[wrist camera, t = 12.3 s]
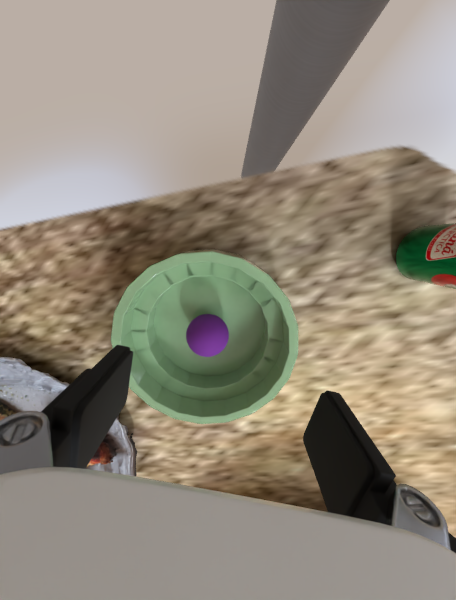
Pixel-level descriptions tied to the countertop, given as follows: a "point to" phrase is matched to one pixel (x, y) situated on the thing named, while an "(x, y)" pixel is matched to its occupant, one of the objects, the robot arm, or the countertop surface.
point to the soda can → (429, 255)
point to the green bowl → (194, 368)
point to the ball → (207, 335)
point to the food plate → (41, 392)
